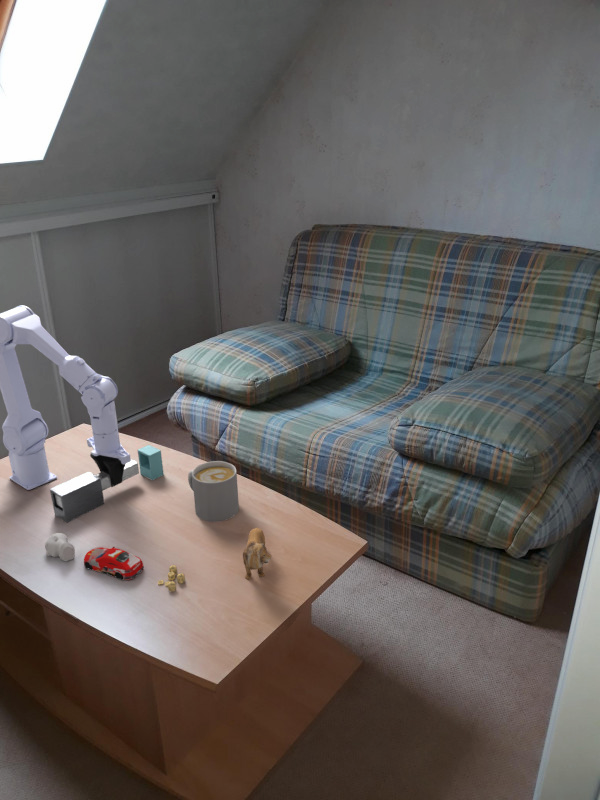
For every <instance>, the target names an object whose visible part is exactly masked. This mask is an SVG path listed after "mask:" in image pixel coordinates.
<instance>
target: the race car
mask: <svg viewBox="0 0 600 800" xmlns="http://www.w3.org/2000/svg"><path fill="white" fill-rule="evenodd" d="M83 565H84V566H85V568H86V569H87V568H89V569H88V570H90V569H91V570H92V571H96V572H98V573H100V574H105V575H108V576H111V577H113V578H116V579H117V580H120V581H124V580H125V581H128V580H133V579H134V578H136V577H137V576H138V575H139V574H140V573H142V571H144V568H145V567H144V562H143V560H142V559H141V558H140V557H139V556H136V555H135V554H133V553H131V552H128V551H126V550H123V549H120V548H116V547H115V546H113V547H111V548H109V547H104V546H103V547H95V548H91V549H90V550H88V551H87V552H86V553H85V555H84V558H83ZM91 570H90V571H91Z"/></svg>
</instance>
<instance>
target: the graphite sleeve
mask: <svg viewBox="0 0 600 800" xmlns="http://www.w3.org/2000/svg"><path fill="white" fill-rule="evenodd" d="M49 493H50V496H51V502H52V506H53V512H54V513H53V514H54V517H57V518H58V519H60V520H61V521H63V522H64V523H66V524H67V523H69V522H71V521H73V520H76V519H77V518H79V517H81V516H83V515H85V514H88V513H89V512H92V511H94V510H95V509H97V508H99V507H102V506H104V505H105V499H104V490H103V491H102V485H101V478H99V477H97V476H96V474H93V473H92V472H90V471H87V472H85V473H82V474H80V475H78V476H75V477H74V478H70V479H69V480H67V481H64V482H63V483H60V484H57V485H56V486H53V487H51V488H49ZM55 495H57V496H59V497H60V498H61V502H62V508H61V507H60V506H58V505H57V503H56V497H55Z"/></svg>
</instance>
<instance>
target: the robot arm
mask: <svg viewBox="0 0 600 800" xmlns="http://www.w3.org/2000/svg"><path fill="white" fill-rule="evenodd" d="M17 345H31V346H32V347H33V348H34V349H36V350H38V351H39V352H40V353H41V354H43V356H45V357H46V358H47V359H49V360H50V361H51V362H53V363H54V364H55V365H57V367H58V373H59V376H60V377H62V378H63V379H64V380H66V381H67V383H69V385H71V386H72V387H73V388H74V389H75V390H76V391H77V392H78V393H80V394H81V395H82V396H80V400H81V401H82V403H83V405H84V406H85V408H86V409H87V414H88V415H89V417H90V424H91V430H92V436H91V437H89V438H87V439H86V443H87V447H88V448H92V449H93V450H91V452H90V455H89V456H90V457H89V458H91V459H92V460H93V461H94V463H95V464H96V467H97V468H98V469H99V471H100V472H102V471H103V470H105V469H107V468H108V470H109V473H110V476H111V480H112V483H113V484H114V485H116V486H118V485H119V483H120V484H121V482H122V483H123V481H122V478H123V471H124V467H125V465H126V463H129V462H131V460H132V459H131V453H129V452H127V450H126V449H125V448H124V447H123V445H122V443H121V440H120V433H119V425H118V419H117V413H116V412H117V410H116V405H115V399H116V398H117V396H118V394H119V393H118V392H119V388H118V386H117V384H116V382H115V381H114V380H113V379H112V378H111V377H109V376H104V375H102V374H100V373H97V372H96V371H95V370H94V369H92V368H91V366H90V365H88V364H87V363H86V361H85V360H84V359H83V358H82V357H80V356H79V355H70V354H69V353H67V351H66V350H65V349H64V348H63V347H62V345H60V344H59V342H58V341H57V340H56V339H55V338H54V337H53V336H52V335H51V334H50V333H49V331H47V330H46V329H45V327H43V325H42V321H41V318H40V316H39V315H37V314H36V313H35V312H34V310H32V309H31V308H30V307H29V306H26V305H18V306H15V307H14V308H11V309H9V310H5V311H3V312H0V392H1V395H2V399H3V403H4V406H5V409H6V412H7V416H6V417H5V420H4V422H3V423H2V426H1V429H2V432H3V434H2V435H3V436H2V442H3V445H4V447H5V449H6V450H7V451H8V459H9V463H10V469H11V473H12V475H11V476H9V479H10V481H13V482H14V483H16V484H17V485H19V486H21V488H24V489H25V490H27V491H30V490H33V489H35V488H37V487H40V486H41V485H44V484H47V483H49V482H52V481H53V480H56V479H57V478H58V476H57V475H56V474H55V473H53V472H51V471H50V469H49V465H48V459H47V452H46V448H45V443H46V438H47V437H48V435H49V427H48V425H47V423H46V422H45V420H44V419H43V417H42V414H41V412H40V411H38V410H35V409H33V408H32V405H31V401H30V397H29V394H28V391H27V387H26V382H25V379H24V378H23V376H24V375H23V373H22V372H23V371H22V369H21V366H20V362H19V359H18V355H17V351H16V349H15V348H16V347H17ZM100 472H99V473H100ZM117 484H118V485H117Z"/></svg>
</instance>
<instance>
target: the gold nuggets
mask: <svg viewBox="0 0 600 800" xmlns="http://www.w3.org/2000/svg"><path fill="white" fill-rule="evenodd" d="M177 573H178V569H177V566H176V564H175V565H173V564H172V565H170V566H169V567H168V573H167V577H168V578H167V580H168V581H165V582H164V579H162V580H158V581H157V585H158V586H162V585H165V588H166V587H167V589H168V592H170V593H172V592H175V591H177V587H176V581H177V583H178V584H184V583H185V581H186V578H185V573H178V574H177ZM175 579H176V581H174V580H175Z"/></svg>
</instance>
